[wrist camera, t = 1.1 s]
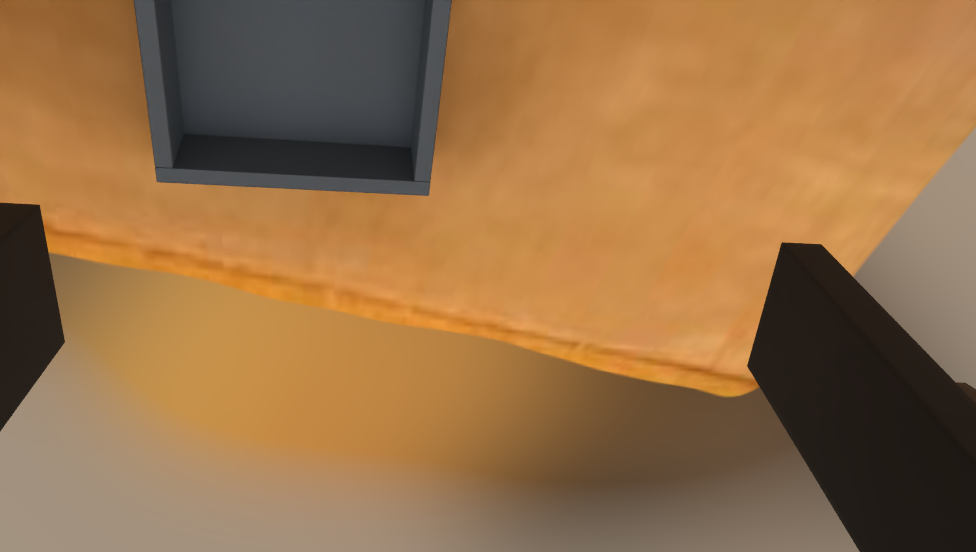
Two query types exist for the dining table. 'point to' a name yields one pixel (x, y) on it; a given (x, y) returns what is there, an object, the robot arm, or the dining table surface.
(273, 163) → the grey bin
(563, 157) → the dining table surface
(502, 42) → the dining table surface
